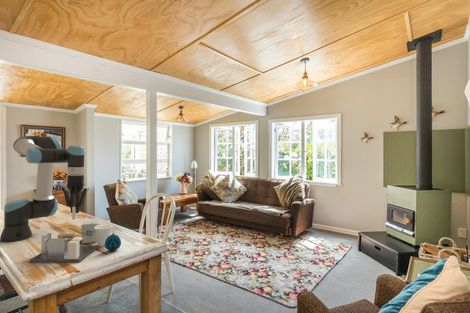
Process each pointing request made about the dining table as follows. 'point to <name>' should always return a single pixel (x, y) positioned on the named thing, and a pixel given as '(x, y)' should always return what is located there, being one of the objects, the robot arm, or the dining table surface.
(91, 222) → the ink box
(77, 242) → the block
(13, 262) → the dining table surface
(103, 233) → the cup
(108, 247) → the ornament
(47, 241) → the strap
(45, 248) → the base
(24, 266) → the dining table surface
